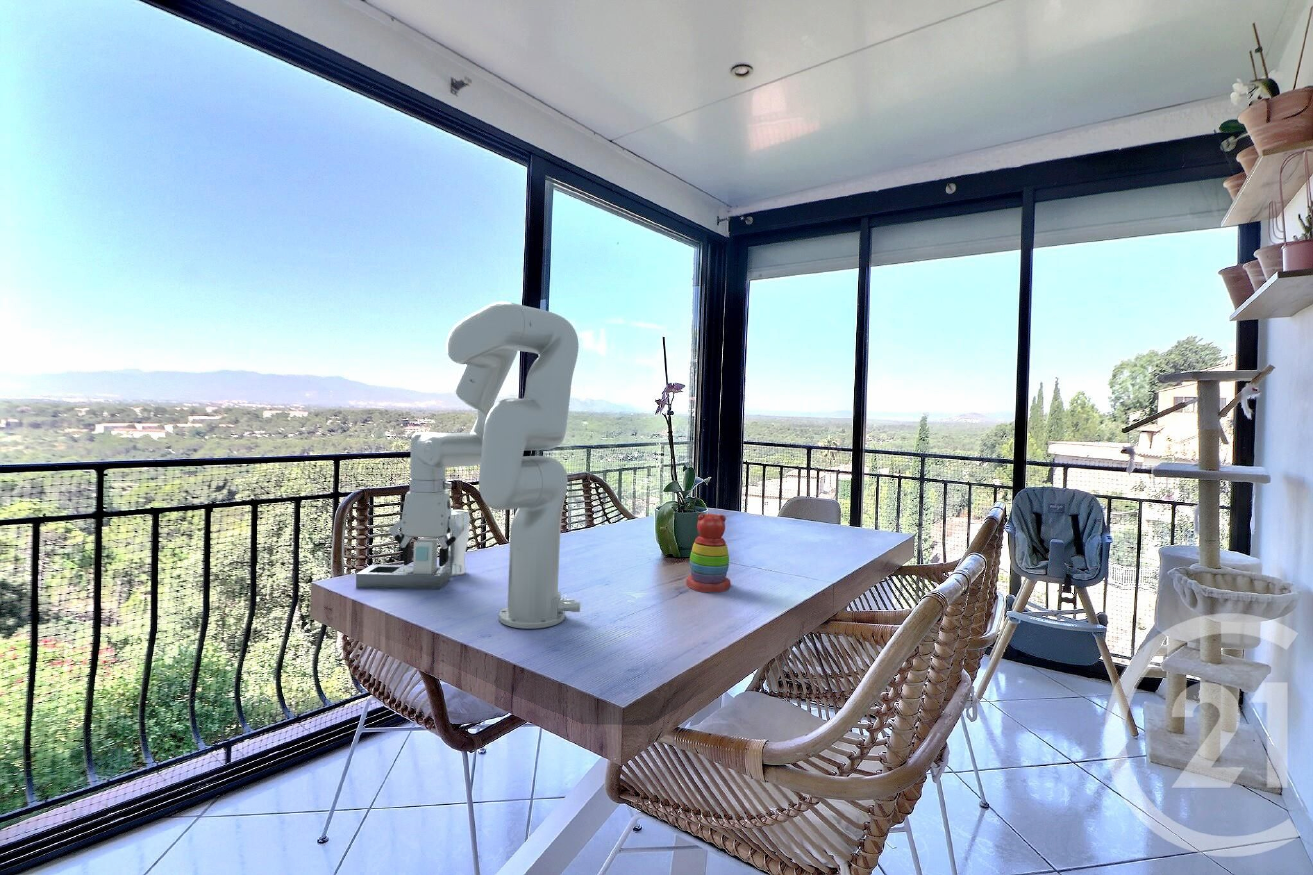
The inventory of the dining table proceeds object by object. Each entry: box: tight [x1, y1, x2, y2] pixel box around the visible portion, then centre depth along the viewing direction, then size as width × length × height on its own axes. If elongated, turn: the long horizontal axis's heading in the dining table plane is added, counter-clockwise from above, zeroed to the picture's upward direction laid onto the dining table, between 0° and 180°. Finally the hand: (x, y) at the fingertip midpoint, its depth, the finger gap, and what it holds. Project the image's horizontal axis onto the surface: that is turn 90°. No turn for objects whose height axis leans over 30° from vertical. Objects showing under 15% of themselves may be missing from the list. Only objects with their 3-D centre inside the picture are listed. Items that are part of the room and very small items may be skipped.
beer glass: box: [439, 509, 470, 577], centre depth 146 cm, size 7×7×15 cm
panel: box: [355, 564, 451, 591], centre depth 135 cm, size 18×8×3 cm, turn 93°
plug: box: [412, 537, 439, 574], centre depth 135 cm, size 4×5×10 cm
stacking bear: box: [685, 513, 732, 593], centre depth 143 cm, size 11×10×18 cm
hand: (425, 563), depth 135 cm, fingers open, 7 cm apart
